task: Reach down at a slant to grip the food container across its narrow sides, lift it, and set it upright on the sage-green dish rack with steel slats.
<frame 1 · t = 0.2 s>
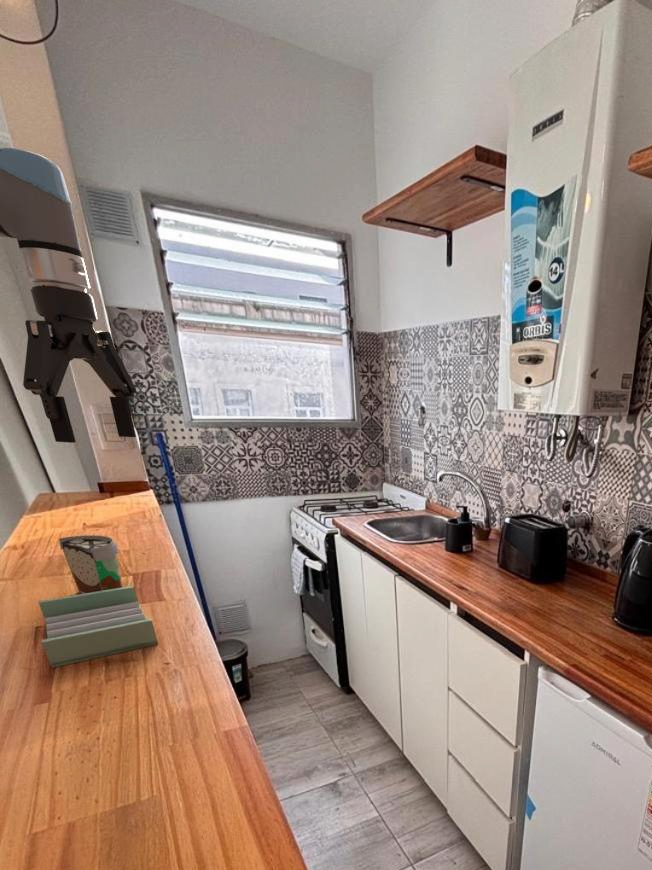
hand: (98, 439, 87), 27 cm above the table, tool pointing down, fingers open, 13 cm apart
food container: (109, 593, 97), on the table
dish rack: (100, 633, 81), on the table
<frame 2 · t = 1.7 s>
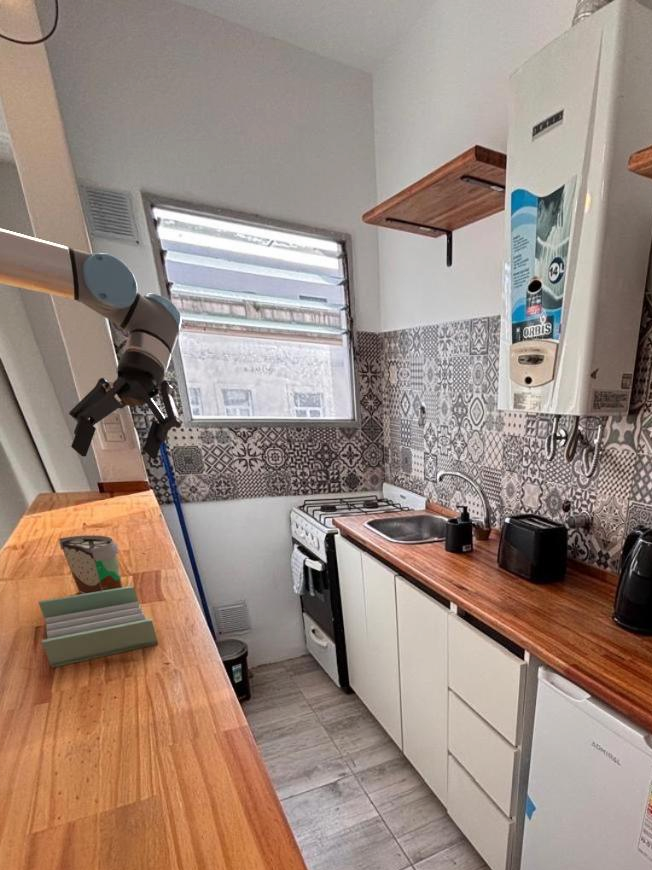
hand: (114, 453, 96), 24 cm above the table, tool tilted 45°, fingers open, 13 cm apart
nothing on the table moved.
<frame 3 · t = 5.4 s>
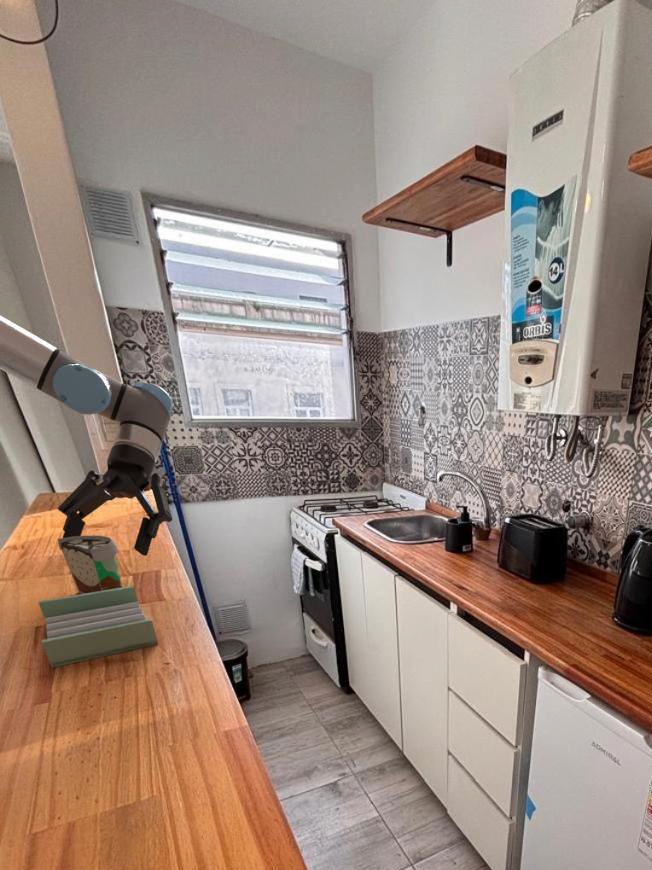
hand: (103, 550, 95), 8 cm above the table, tool tilted 45°, fingers open, 13 cm apart
food container: (109, 593, 97), on the table, touching gripper
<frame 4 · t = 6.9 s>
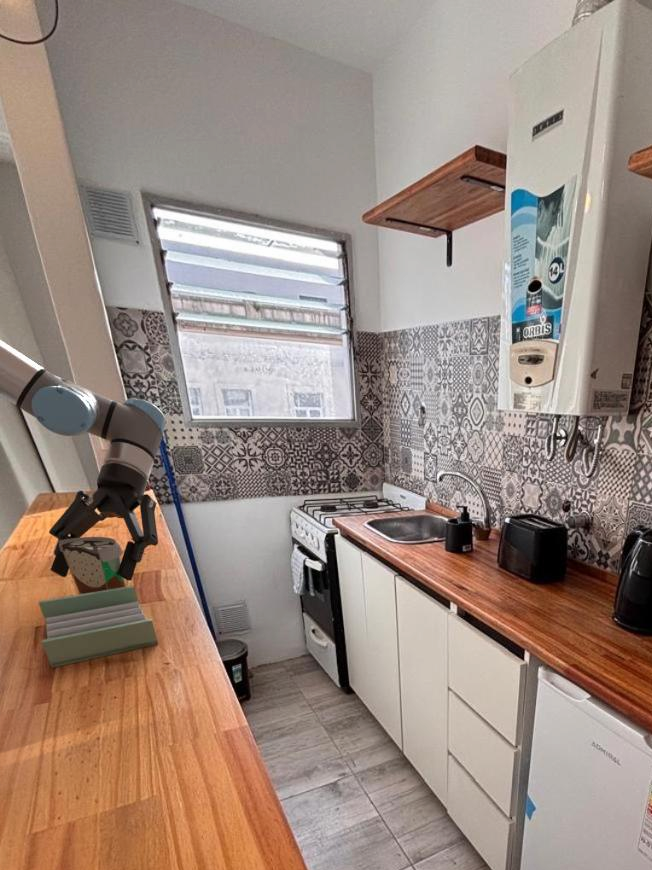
hand: (91, 575, 92), 4 cm above the table, tool tilted 45°, fingers closed on food container, 11 cm apart
food container: (112, 594, 96), on the table, touching gripper
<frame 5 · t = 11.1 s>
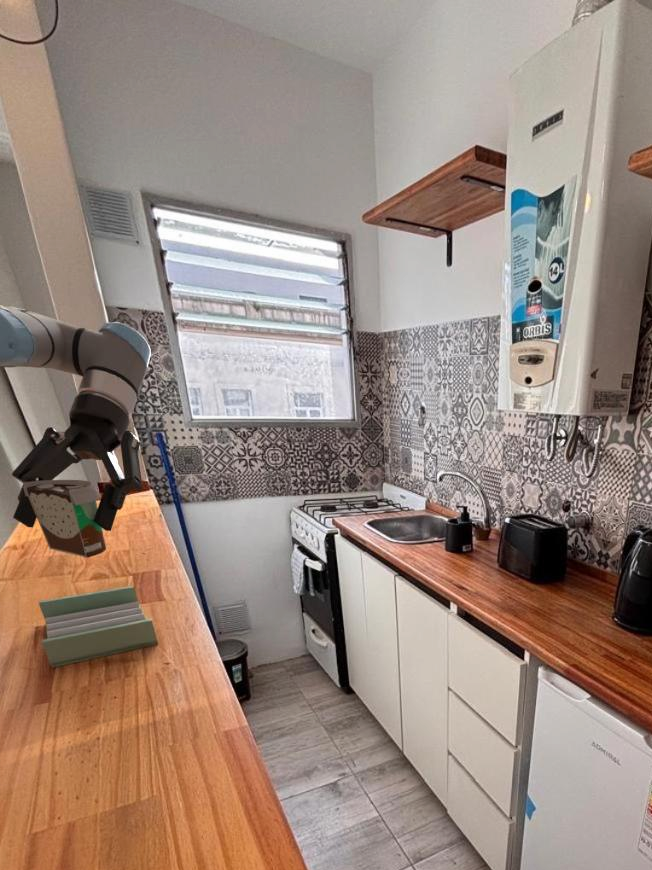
hand: (62, 524, 78), 16 cm above the table, tool tilted 45°, fingers closed on food container, 11 cm apart
food container: (89, 549, 81), point 12 cm above the table, touching gripper
when the fingers open (6 cm above the table, at t = 15.5 s): food container stays where it is, resting on dish rack.
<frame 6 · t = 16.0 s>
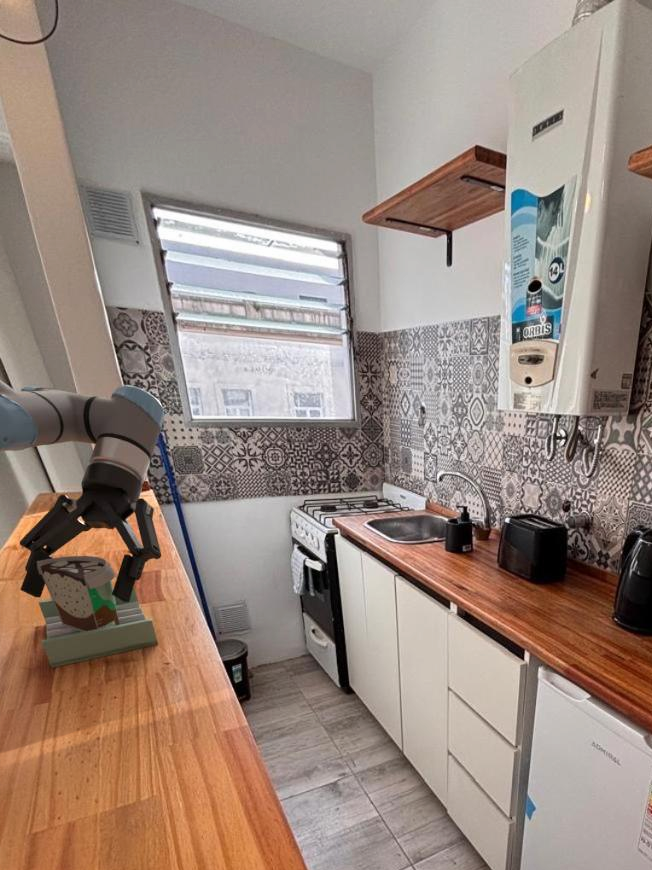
hand: (75, 596, 76), 7 cm above the table, tool tilted 45°, fingers open, 13 cm apart
food container: (102, 625, 80), point 2 cm above the table, touching dish rack
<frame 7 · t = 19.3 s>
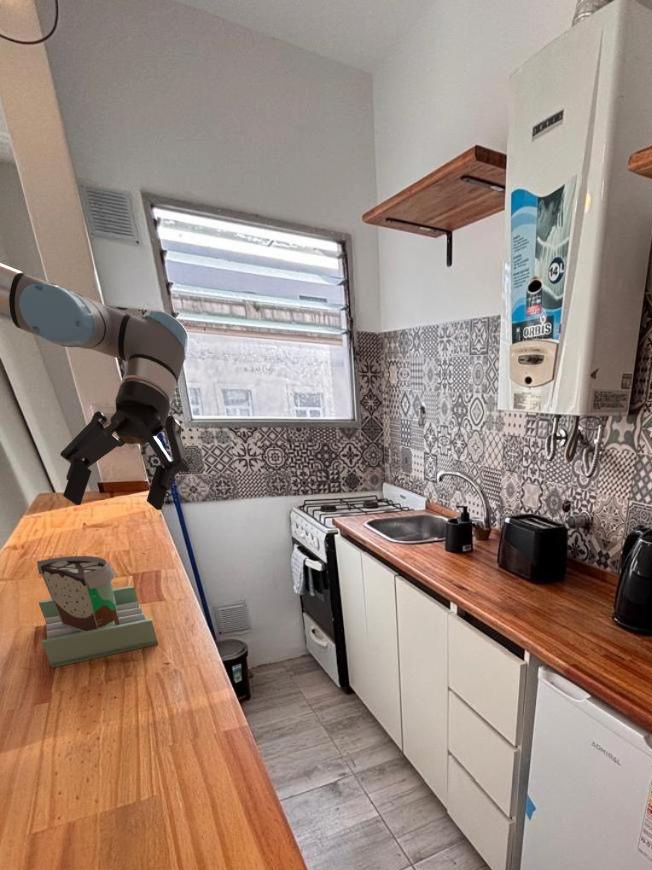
hand: (112, 503, 83), 18 cm above the table, tool tilted 45°, fingers open, 13 cm apart
nothing on the table moved.
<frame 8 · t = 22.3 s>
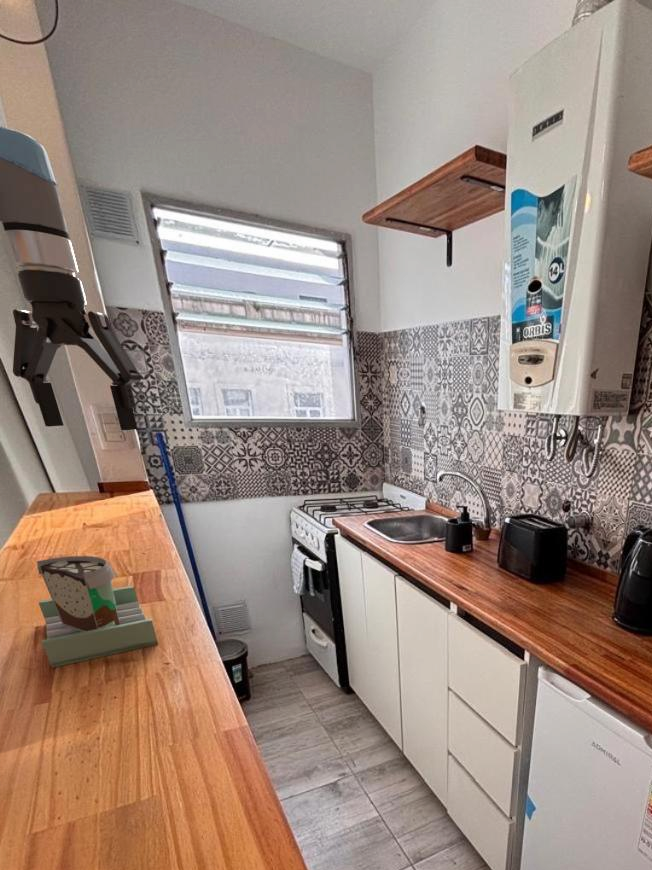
hand: (91, 428, 85), 29 cm above the table, tool pointing down, fingers open, 13 cm apart
nothing on the table moved.
at the end: food container 1.4 cm from the dish rack (horizontally); food container point 1.8 cm above the table; food container tilted 0° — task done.
